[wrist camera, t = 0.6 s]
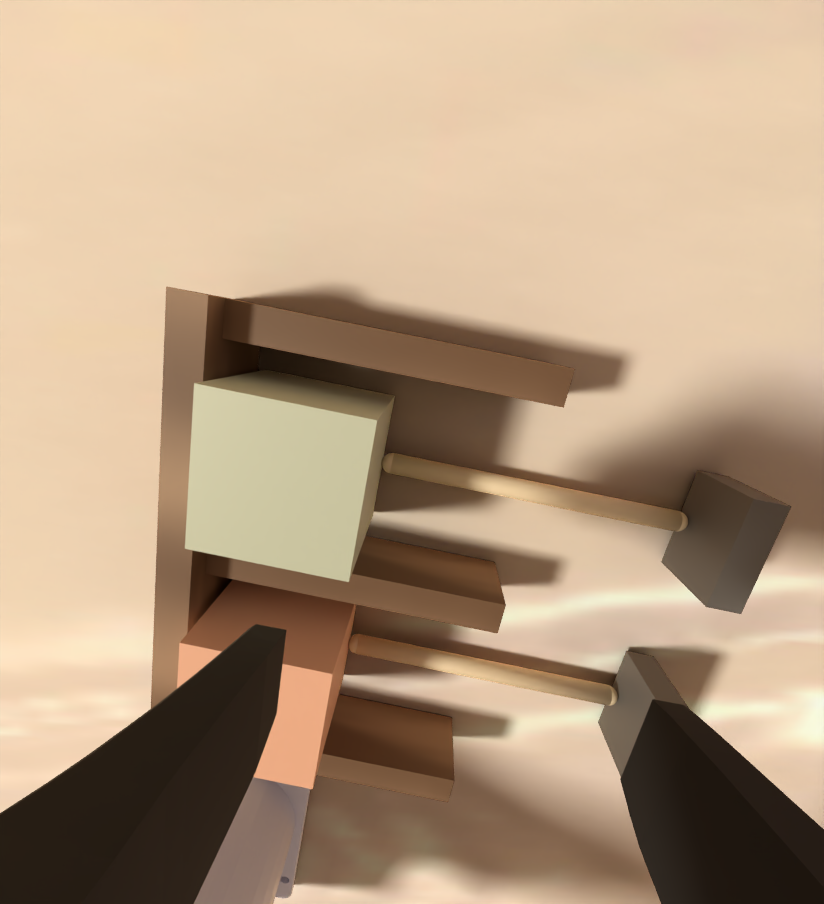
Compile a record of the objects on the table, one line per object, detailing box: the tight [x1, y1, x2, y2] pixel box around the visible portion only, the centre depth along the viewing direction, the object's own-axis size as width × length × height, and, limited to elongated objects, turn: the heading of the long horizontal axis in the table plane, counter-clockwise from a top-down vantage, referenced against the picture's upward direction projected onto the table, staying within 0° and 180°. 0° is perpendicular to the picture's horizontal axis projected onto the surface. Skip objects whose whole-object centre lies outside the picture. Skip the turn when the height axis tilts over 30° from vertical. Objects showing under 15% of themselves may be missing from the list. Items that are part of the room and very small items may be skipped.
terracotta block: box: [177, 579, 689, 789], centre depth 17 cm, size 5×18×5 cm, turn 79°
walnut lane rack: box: [151, 287, 575, 802], centre depth 16 cm, size 18×12×4 cm, turn 169°
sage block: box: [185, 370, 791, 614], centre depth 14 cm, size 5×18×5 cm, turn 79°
